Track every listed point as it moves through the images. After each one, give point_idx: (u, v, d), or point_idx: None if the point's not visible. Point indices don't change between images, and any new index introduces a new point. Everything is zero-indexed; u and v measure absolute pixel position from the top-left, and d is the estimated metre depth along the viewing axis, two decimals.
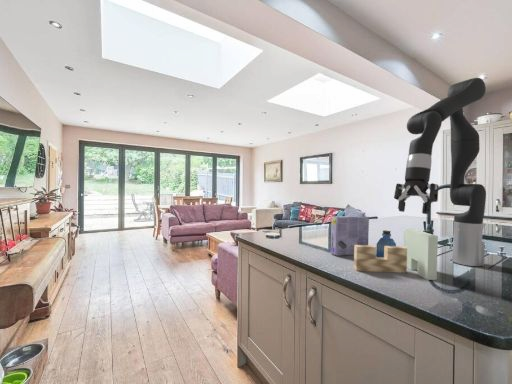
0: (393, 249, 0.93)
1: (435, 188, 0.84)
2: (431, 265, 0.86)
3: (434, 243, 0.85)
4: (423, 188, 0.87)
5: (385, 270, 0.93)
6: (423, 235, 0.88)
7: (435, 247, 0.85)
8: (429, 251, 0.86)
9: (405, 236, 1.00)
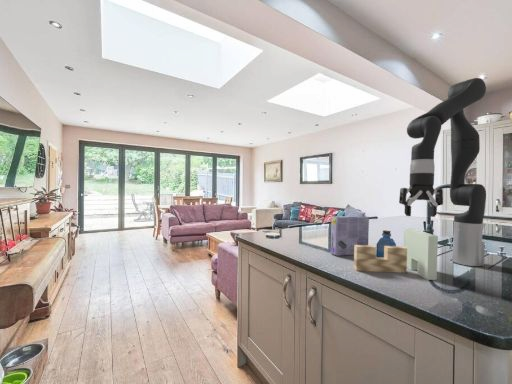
0: (393, 249, 0.93)
1: None
2: (431, 265, 0.86)
3: (434, 243, 0.85)
4: (432, 193, 0.92)
5: (385, 270, 0.93)
6: (423, 235, 0.88)
7: (435, 247, 0.85)
8: (429, 251, 0.86)
9: (405, 236, 1.00)
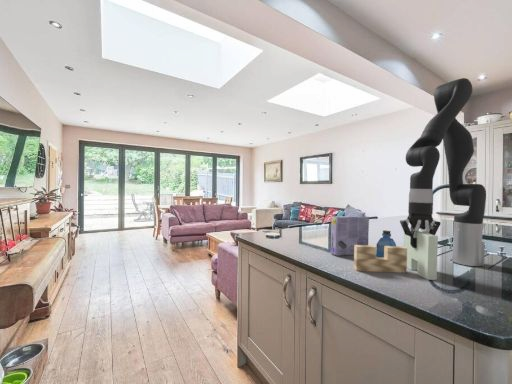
0: (393, 249, 0.93)
1: None
2: (431, 265, 0.86)
3: (434, 243, 0.85)
4: (429, 224, 0.92)
5: (385, 270, 0.93)
6: (423, 235, 0.88)
7: (435, 247, 0.85)
8: (429, 251, 0.86)
9: (405, 236, 1.00)
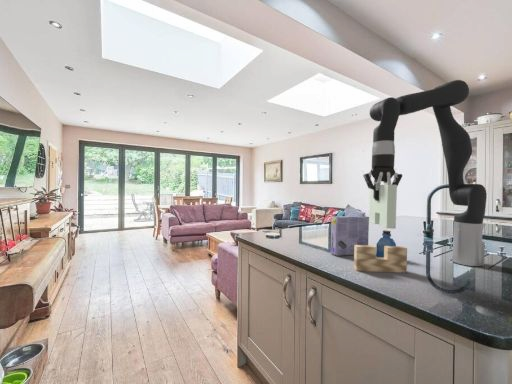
0: (393, 249, 0.93)
1: None
2: (390, 214, 0.86)
3: (393, 191, 0.86)
4: (391, 177, 0.93)
5: (385, 270, 0.93)
6: (384, 185, 0.89)
7: (394, 196, 0.86)
8: (388, 199, 0.86)
9: (371, 192, 1.01)
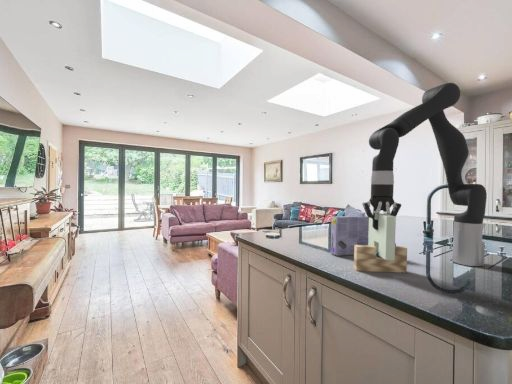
0: None
1: None
2: (389, 245, 0.86)
3: (392, 223, 0.86)
4: (390, 206, 0.93)
5: (385, 270, 0.93)
6: (383, 216, 0.89)
7: (393, 227, 0.86)
8: (387, 231, 0.86)
9: (370, 219, 1.01)
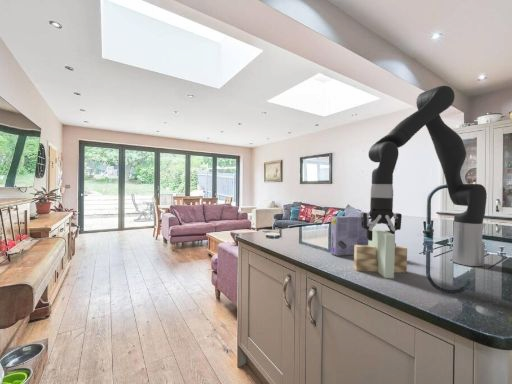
0: None
1: None
2: (389, 263, 0.87)
3: (391, 241, 0.86)
4: (391, 217, 0.93)
5: None
6: (382, 234, 0.89)
7: (392, 246, 0.86)
8: (386, 249, 0.87)
9: None
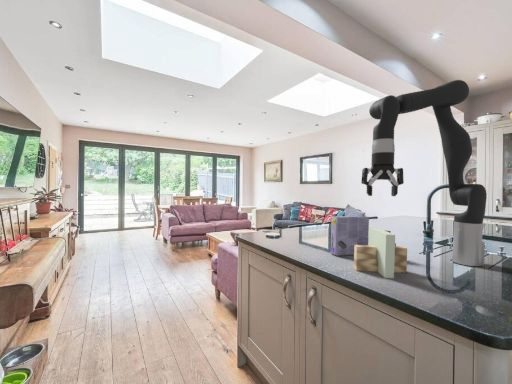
0: None
1: None
2: (389, 263, 0.87)
3: (391, 241, 0.86)
4: (392, 172, 0.93)
5: None
6: (382, 234, 0.89)
7: (392, 246, 0.86)
8: (386, 249, 0.87)
9: (369, 235, 1.01)
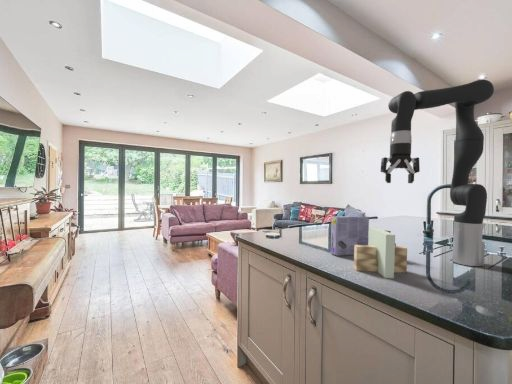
0: None
1: None
2: (389, 263, 0.87)
3: (391, 241, 0.86)
4: (409, 161, 1.02)
5: None
6: (382, 234, 0.89)
7: (392, 246, 0.86)
8: (386, 249, 0.87)
9: (369, 235, 1.01)
